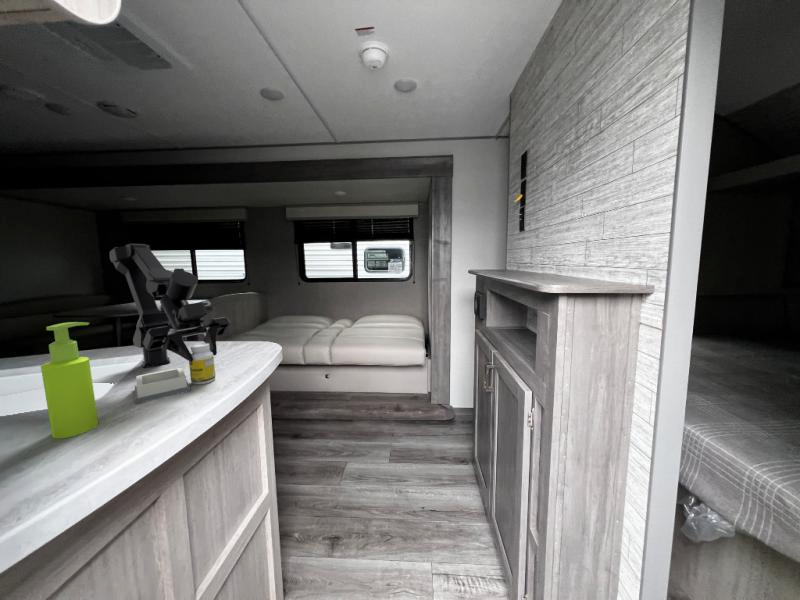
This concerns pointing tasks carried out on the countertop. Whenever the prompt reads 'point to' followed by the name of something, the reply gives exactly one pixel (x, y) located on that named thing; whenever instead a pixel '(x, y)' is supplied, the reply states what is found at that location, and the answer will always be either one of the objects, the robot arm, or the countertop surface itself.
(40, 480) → the countertop surface
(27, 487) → the countertop surface
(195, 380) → the supplement bottle
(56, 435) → the soap dispenser
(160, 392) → the cream square open box
